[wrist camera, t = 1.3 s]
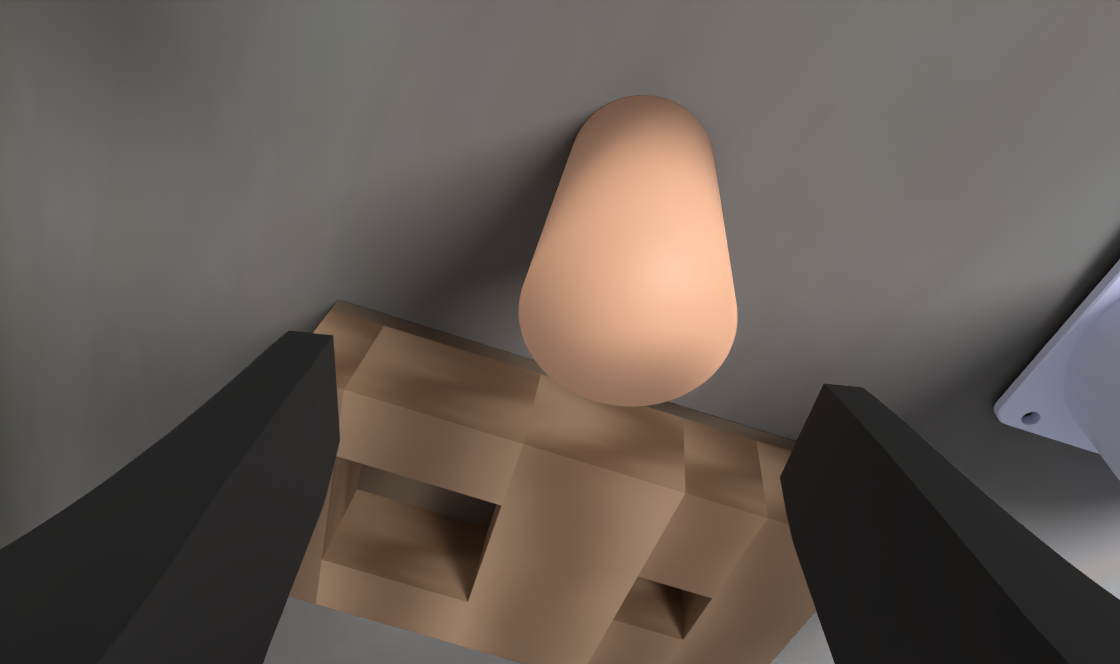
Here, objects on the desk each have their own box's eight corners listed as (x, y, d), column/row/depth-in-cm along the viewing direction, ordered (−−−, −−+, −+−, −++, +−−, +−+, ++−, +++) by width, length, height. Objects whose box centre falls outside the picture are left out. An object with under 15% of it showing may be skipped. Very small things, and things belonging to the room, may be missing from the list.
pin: (737, 122, 18) (776, 263, 12) (681, 251, 21) (687, 429, 14) (594, 75, 18) (550, 191, 12) (553, 209, 20) (497, 371, 14)
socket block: (841, 455, 24) (869, 548, 21) (715, 627, 30) (720, 720, 27) (338, 299, 23) (282, 371, 20) (314, 509, 29) (269, 590, 26)
